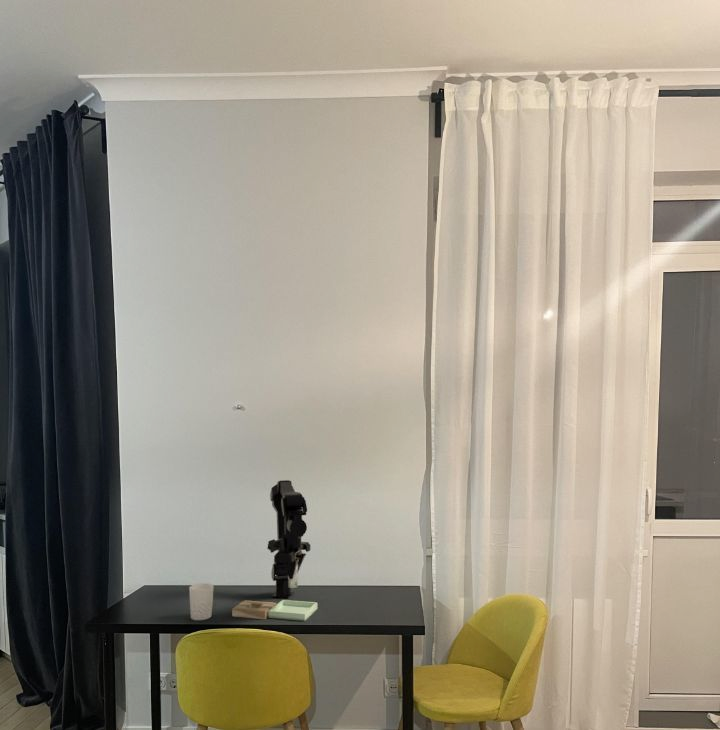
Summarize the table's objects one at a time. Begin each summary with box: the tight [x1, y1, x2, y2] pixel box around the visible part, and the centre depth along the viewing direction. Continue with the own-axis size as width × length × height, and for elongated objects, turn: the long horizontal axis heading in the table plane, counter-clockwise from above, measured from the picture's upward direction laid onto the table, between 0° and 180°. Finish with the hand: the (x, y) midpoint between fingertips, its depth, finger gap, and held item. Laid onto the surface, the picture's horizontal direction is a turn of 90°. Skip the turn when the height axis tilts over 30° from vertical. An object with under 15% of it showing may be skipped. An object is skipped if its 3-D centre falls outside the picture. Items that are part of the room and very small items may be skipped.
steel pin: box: [288, 557, 299, 589], centre depth 200 cm, size 4×4×9 cm
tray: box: [267, 599, 318, 622], centre depth 199 cm, size 12×13×2 cm
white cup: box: [188, 582, 214, 621], centre depth 197 cm, size 8×8×10 cm
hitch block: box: [231, 599, 277, 620], centre depth 200 cm, size 9×12×2 cm
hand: (293, 577), depth 200 cm, fingers closed on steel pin, 3 cm apart
